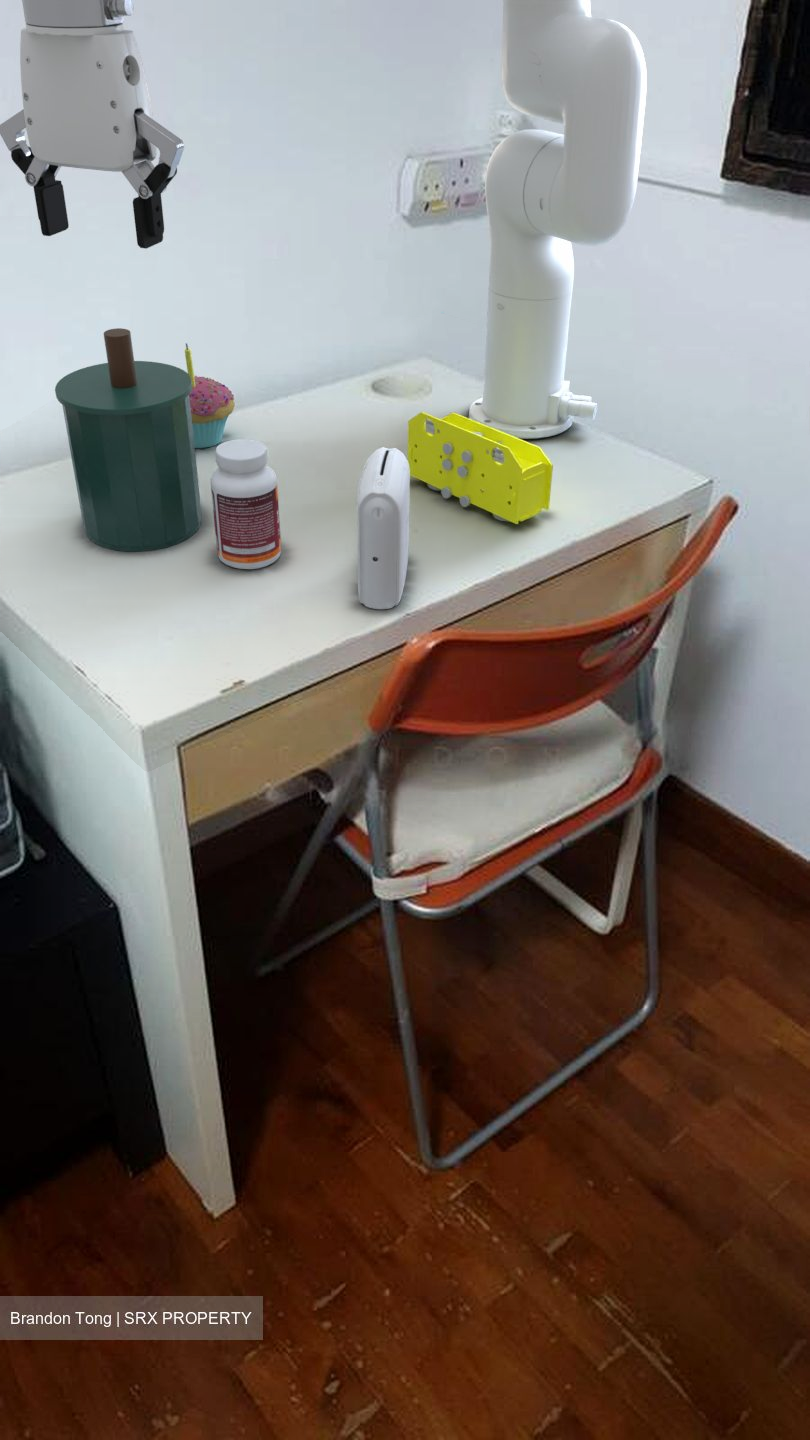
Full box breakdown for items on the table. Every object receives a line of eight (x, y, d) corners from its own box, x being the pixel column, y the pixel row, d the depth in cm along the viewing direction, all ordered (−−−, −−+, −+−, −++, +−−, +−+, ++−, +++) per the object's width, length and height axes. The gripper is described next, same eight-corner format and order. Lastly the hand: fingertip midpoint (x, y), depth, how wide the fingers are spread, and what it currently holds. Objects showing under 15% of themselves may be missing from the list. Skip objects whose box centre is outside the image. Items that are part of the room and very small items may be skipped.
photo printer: (401, 612, 103) (403, 485, 96) (354, 609, 103) (352, 482, 96) (411, 557, 111) (413, 436, 104) (367, 555, 111) (366, 434, 104)
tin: (209, 499, 121) (196, 369, 112) (191, 552, 111) (175, 414, 103) (99, 498, 121) (78, 367, 112) (72, 550, 111) (47, 412, 103)
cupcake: (231, 455, 130) (222, 350, 123) (156, 454, 130) (143, 349, 123) (241, 426, 137) (233, 325, 130) (170, 424, 137) (158, 323, 130)
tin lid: (202, 373, 113) (196, 312, 110) (181, 423, 103) (174, 357, 99) (75, 371, 113) (65, 310, 110) (41, 421, 103) (29, 354, 99)
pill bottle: (294, 558, 111) (288, 451, 104) (240, 578, 108) (230, 468, 101) (258, 535, 115) (251, 430, 108) (205, 553, 111) (194, 446, 105)
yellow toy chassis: (404, 482, 125) (405, 408, 120) (441, 467, 128) (443, 395, 123) (512, 533, 115) (518, 455, 110) (550, 515, 119) (557, 439, 114)
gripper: (193, 12, 91) (210, 239, 101) (10, 0, 95) (44, 219, 106) (143, 20, 85) (167, 260, 95) (-49, 7, 90) (-7, 237, 100)
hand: (102, 238), depth 100 cm, fingers open, 9 cm apart
